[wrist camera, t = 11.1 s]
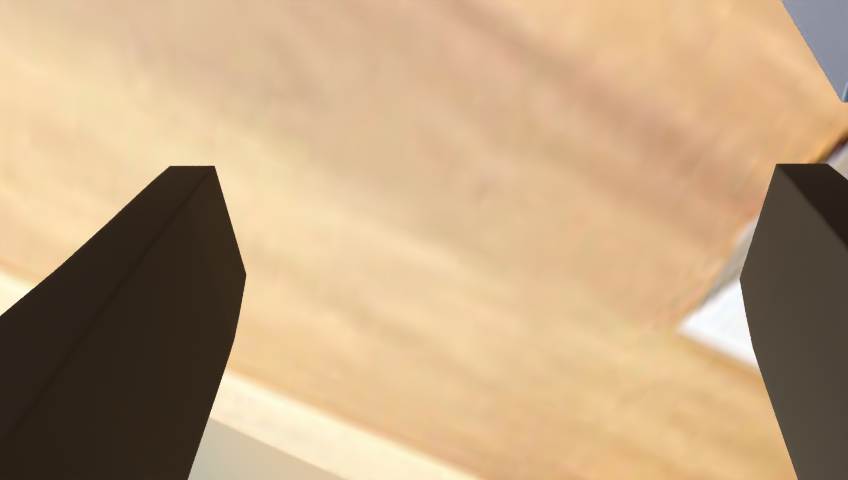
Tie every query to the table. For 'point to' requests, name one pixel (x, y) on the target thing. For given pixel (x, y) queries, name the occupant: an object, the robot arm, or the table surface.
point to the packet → (825, 36)
